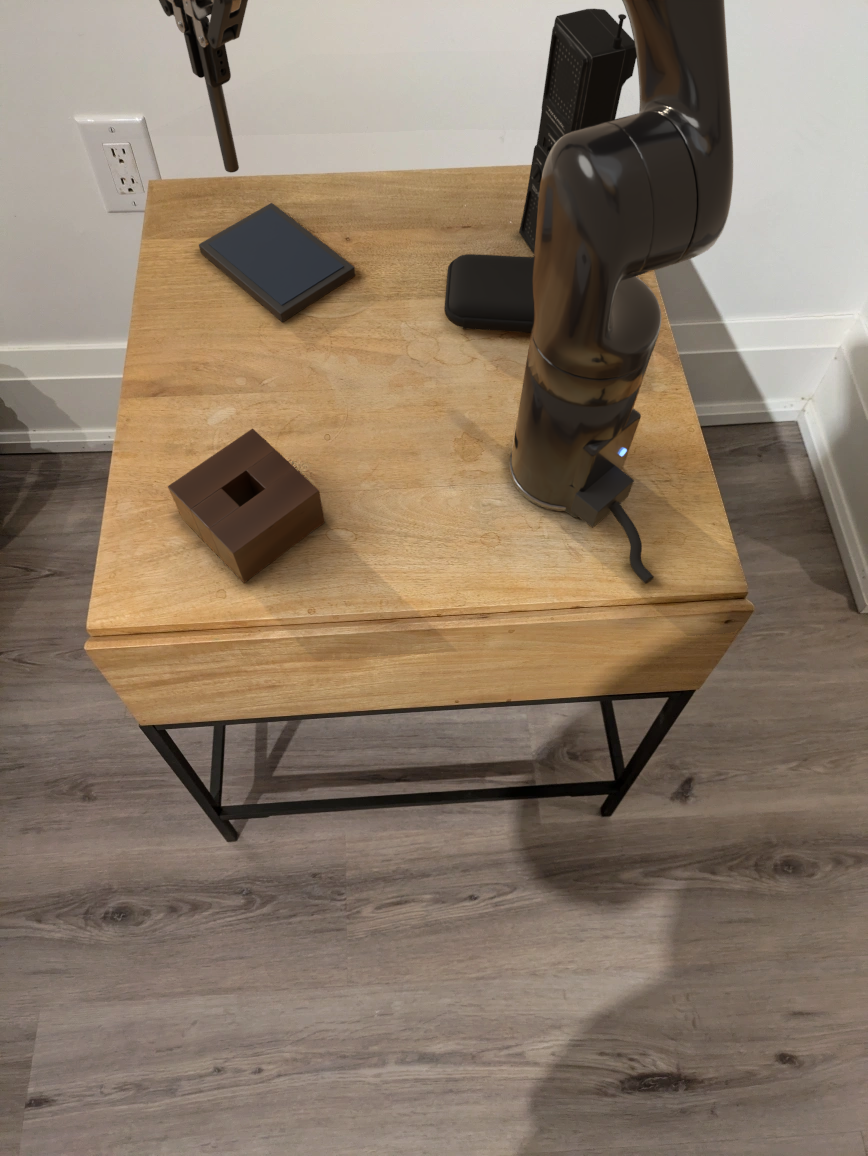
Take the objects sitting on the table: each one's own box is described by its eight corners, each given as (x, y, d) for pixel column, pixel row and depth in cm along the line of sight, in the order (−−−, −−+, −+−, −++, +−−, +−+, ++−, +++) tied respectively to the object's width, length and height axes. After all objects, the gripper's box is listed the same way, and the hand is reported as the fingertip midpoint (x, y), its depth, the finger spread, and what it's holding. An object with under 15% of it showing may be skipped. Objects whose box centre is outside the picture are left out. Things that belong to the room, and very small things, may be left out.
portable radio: (511, 229, 94) (540, -18, 72) (559, 215, 95) (602, -32, 73) (543, 275, 91) (583, 30, 69) (593, 260, 92) (648, 15, 70)
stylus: (242, 168, 84) (212, 19, 72) (230, 175, 84) (198, 26, 72) (233, 161, 85) (201, 12, 73) (221, 168, 84) (187, 19, 72)
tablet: (355, 276, 90) (354, 266, 89) (282, 322, 87) (280, 313, 86) (273, 211, 95) (271, 201, 94) (200, 253, 91) (197, 243, 90)
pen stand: (325, 522, 75) (319, 490, 71) (244, 583, 72) (232, 553, 68) (262, 462, 78) (252, 427, 74) (181, 518, 75) (167, 486, 71)
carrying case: (442, 342, 86) (587, 351, 85) (442, 319, 83) (592, 328, 83) (448, 268, 91) (585, 277, 91) (449, 245, 88) (590, 253, 88)
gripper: (65, -177, 62) (134, 62, 78) (174, -112, 58) (225, 129, 73) (150, -206, 65) (201, 31, 80) (260, -145, 60) (293, 94, 76)
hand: (212, 77), depth 77 cm, fingers closed on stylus, 1 cm apart
